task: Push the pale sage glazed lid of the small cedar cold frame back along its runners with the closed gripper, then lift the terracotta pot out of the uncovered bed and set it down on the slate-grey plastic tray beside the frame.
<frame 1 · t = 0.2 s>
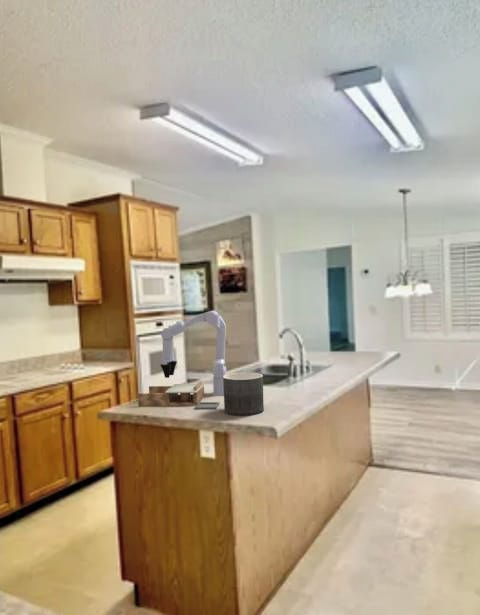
hand: (169, 376, 258), 10 cm above the countertop, fingers open, 7 cm apart
tray: (207, 407, 228), on the countertop
cold frame: (185, 401, 242), on the countertop
pot: (185, 400, 242), resting on cold frame
lid: (185, 386, 242), point 7 cm above the countertop, slide at 0.0 cm
planter: (244, 411, 220), on the countertop
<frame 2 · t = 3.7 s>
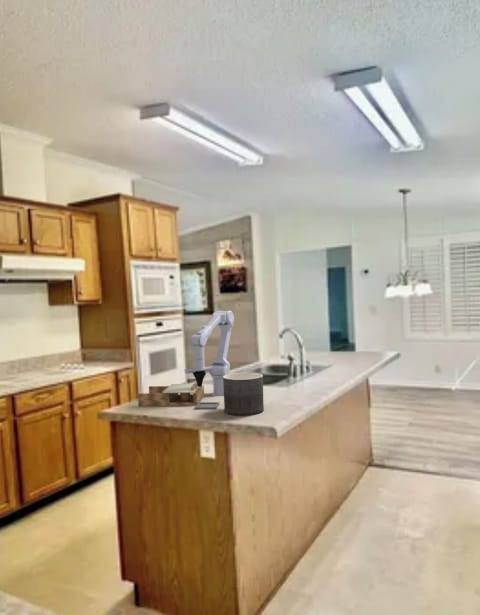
hand: (199, 386, 241), 7 cm above the countertop, fingers closed
lid: (182, 386, 242), point 8 cm above the countertop, slide at 1.4 cm, touching gripper
everything else where it was.
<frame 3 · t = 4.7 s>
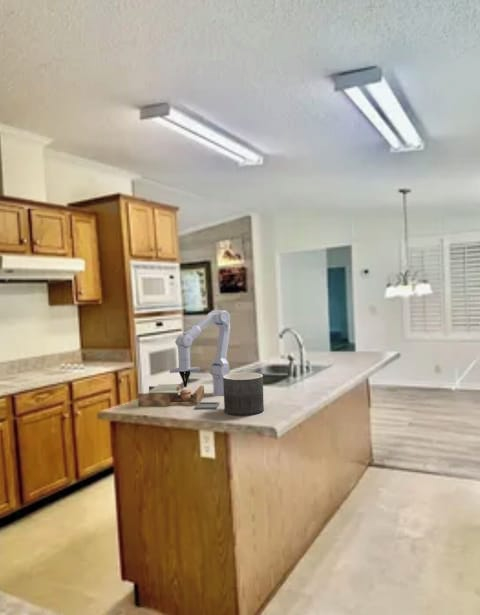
hand: (185, 386, 242), 7 cm above the countertop, fingers closed
lid: (168, 386, 243), point 7 cm above the countertop, slide at 8.5 cm, touching gripper
everything else where it was.
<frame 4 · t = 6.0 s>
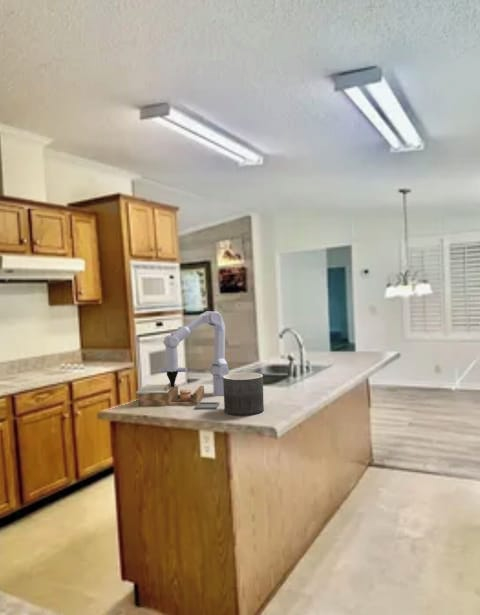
hand: (172, 386, 242), 7 cm above the countertop, fingers closed
lid: (156, 386, 243), point 7 cm above the countertop, slide at 14.6 cm, touching gripper
everything else where it was.
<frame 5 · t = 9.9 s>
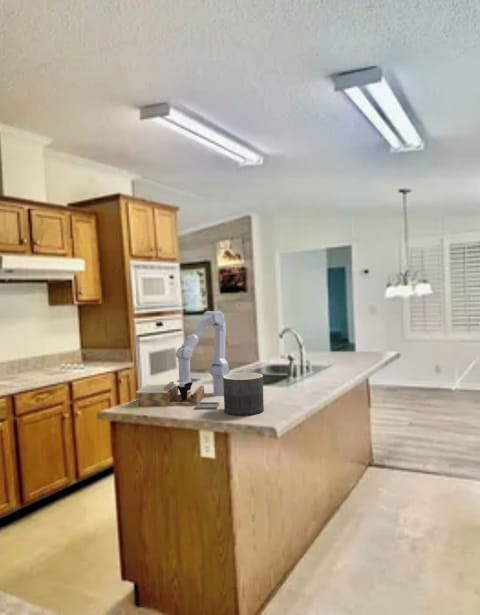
hand: (185, 398, 242), 1 cm above the countertop, fingers closed on pot, 5 cm apart
pot: (185, 400, 242), resting on cold frame, touching gripper
lid: (156, 386, 243), point 7 cm above the countertop, slide at 14.6 cm
everything else where it was.
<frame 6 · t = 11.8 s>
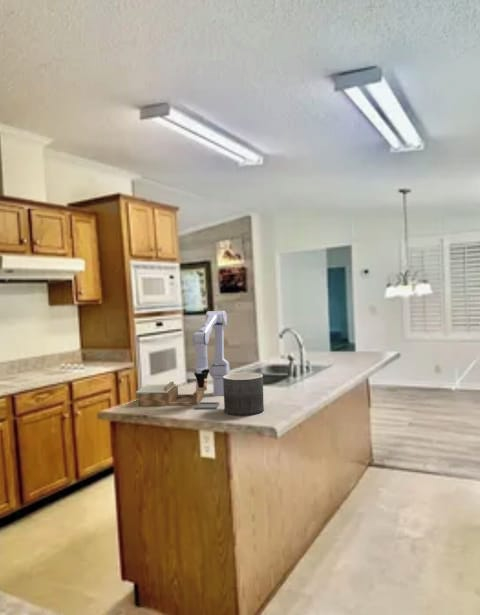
hand: (202, 386, 231), 9 cm above the countertop, fingers closed on pot, 5 cm apart
pot: (201, 389, 231), point 8 cm above the countertop, touching gripper
everything else where it was.
when the fingers open (3 cm above the countertop, at t = 13.8 s): pot stays where it is, resting on tray.
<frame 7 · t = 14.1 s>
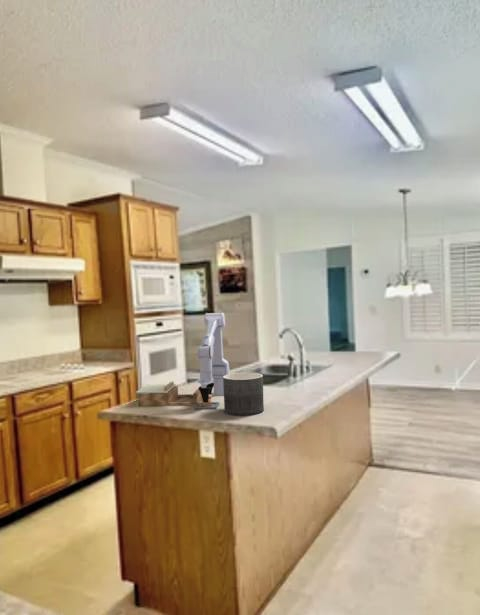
hand: (207, 400, 228), 3 cm above the countertop, fingers open, 7 cm apart
pot: (206, 405, 229), point 1 cm above the countertop, touching tray
everything else where it was.
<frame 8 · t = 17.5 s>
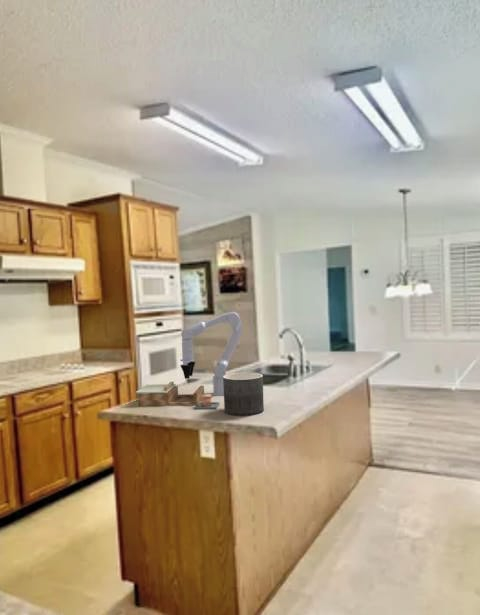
hand: (188, 377, 255), 10 cm above the countertop, fingers open, 7 cm apart
nothing on the countertop moved.
at the end: pot inside the target area on the tray (0.5 cm from its centre), point 0.6 cm above the tray's base; pot tilted 0°; lid slide at 14.6 cm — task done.
